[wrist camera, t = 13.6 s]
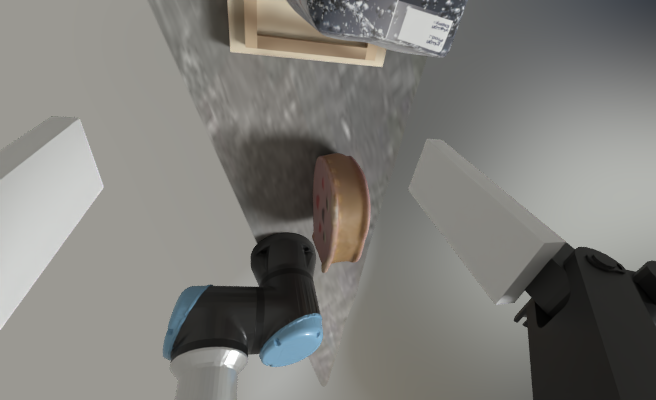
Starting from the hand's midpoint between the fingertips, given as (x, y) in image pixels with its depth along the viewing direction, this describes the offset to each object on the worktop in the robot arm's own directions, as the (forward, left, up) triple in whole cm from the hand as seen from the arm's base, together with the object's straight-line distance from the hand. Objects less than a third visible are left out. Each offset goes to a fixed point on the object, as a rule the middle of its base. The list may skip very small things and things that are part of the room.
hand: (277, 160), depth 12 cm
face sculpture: (-27, -13, -37) cm, 48 cm away
